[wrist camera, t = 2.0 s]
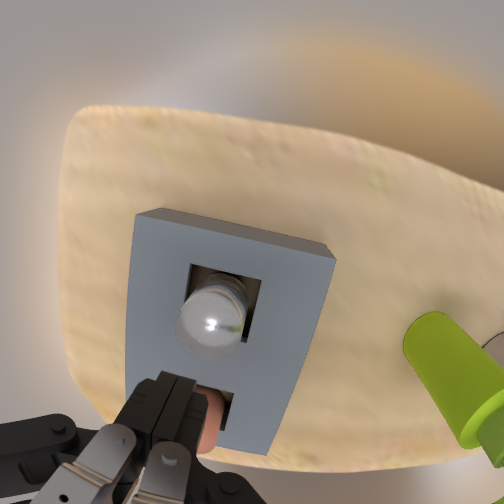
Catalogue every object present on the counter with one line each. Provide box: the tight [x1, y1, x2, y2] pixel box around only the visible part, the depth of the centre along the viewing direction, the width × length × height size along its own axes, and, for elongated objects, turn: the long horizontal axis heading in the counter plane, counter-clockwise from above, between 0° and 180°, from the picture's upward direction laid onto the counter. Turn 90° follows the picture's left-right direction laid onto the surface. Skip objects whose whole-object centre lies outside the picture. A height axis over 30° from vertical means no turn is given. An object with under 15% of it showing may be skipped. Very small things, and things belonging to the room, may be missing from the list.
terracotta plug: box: [195, 384, 225, 454], centre depth 22 cm, size 4×4×5 cm
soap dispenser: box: [403, 312, 504, 504], centre depth 16 cm, size 6×7×20 cm
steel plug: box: [174, 274, 249, 360], centre depth 20 cm, size 4×4×5 cm
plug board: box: [125, 208, 337, 455], centre depth 25 cm, size 14×20×5 cm
